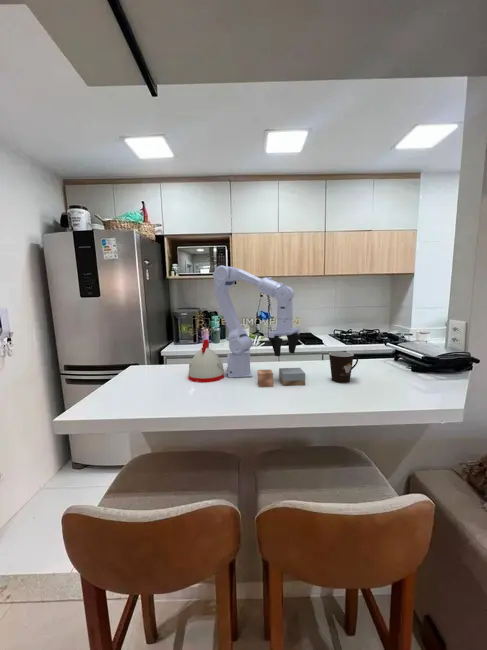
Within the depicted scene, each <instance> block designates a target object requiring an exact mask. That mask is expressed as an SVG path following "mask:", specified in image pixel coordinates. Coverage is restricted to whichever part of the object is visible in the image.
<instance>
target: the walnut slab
mask: <svg viewBox="0 0 487 650" xmlns="http://www.w3.org/2000/svg"><path fill="white" fill-rule="evenodd" d="M278 381H279V382H280V383H281V385H282V386H283V387H287V386H288V387H291V386H292V387H295V386H306V379H305V380H295V381H283V380H282V379H281V377H280V375H279V374H278Z"/></svg>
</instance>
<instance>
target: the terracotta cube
mask: <svg viewBox="0 0 487 650" xmlns="http://www.w3.org/2000/svg"><path fill="white" fill-rule="evenodd" d="M257 385H258V387H259V388H273V387H274V372H273V370H272V369H257Z"/></svg>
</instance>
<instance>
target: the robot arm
mask: <svg viewBox="0 0 487 650" xmlns="http://www.w3.org/2000/svg"><path fill="white" fill-rule="evenodd" d="M212 277H213V293H214V296H215V298H216V301H217V303H218V306H219V309H220V312H221V314H222V317H223V319H224V322H225V325H226V327H227V330H228V337H227V340H228V347H229V350H230V353H227V355H226V356H227V367H226V372H227V378H248V377H252V376H253V374H252V371H251V351H250V349H251V348H252V346H253V340H252V338H251V337H250V336H249V335H248V333H247V331H246V330H245V329H244V328H243V327H242V325H241V322H240V319H239V316H238V314H237V312H236V309H235V306H234V304H233V303H234V302H233V301H232V299H231V296H230V293H229V290H230V289H231V287H232V286H233V285H234V284H235V282H236V281H239V280H240V281H243V282H246V283H248V284H251V285H253V286H255V287H258V290H259V292H260V293H263V294H265V295H267V296H269V297H271V298H275V300H276V303H277V304H276V305H277V307H276V329H275V330H272V331H268V341H269V342H270V345H271V347H272V350H273V352H274V356H275V357H280V356H281V352H282V351H281V347H282V343H283V341H284V340H283V338H281V337H283V336H286V337H287V344H288V352H289V353H290V354H295V351H296V347H297V345H298V343H299V340H300V339H301V334H300V333H301V329H300V328H293V320H294V319H293V317H294V316H293V313H294V312H293V299H294V296H295V291H294V289H293V288H292V287H290V286H289V285H284V283H283V282H277V281H275V280H273V277H267V276H266V277H262V278H260V277H258V276H256V275H254V274H252V273H250V272H249V271H246V270H244V269H241V268H237V267H235V266H227V265H226V266H225V265H218V266H217V267H216V268H215V270H214V272H213V274H212Z"/></svg>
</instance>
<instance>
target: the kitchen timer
mask: <svg viewBox="0 0 487 650" xmlns="http://www.w3.org/2000/svg"><path fill="white" fill-rule="evenodd" d="M188 365H189V366H188V374H187V375H188V379H189V381H190V382H193V383H214V382H218V381H221V380H223V379H224V378H225V371H224V365H223V359H222V358H220V357H219V355H218V354H217V353H216V352H215V351H214V350H212V349H211V348H210V341H209V339H203V343H202V347H201V348H200V349H199V350H198V351H197V352H196V353H195V355H194V356H193V358H192V359H191V360H190V361H189V364H188Z"/></svg>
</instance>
